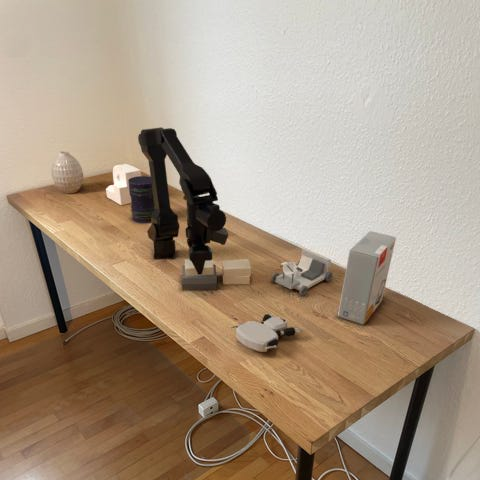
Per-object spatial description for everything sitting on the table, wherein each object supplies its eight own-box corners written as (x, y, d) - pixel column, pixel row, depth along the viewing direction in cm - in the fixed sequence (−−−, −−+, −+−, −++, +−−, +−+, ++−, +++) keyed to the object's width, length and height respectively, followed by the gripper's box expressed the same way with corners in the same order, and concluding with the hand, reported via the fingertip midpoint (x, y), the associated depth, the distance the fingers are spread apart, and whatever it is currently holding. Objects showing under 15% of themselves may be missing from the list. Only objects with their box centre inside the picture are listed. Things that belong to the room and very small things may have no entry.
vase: (50, 190, 210) (42, 151, 201) (77, 184, 218) (70, 146, 209) (63, 198, 203) (55, 157, 194) (91, 191, 210) (85, 152, 201)
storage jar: (161, 215, 189) (158, 177, 181) (153, 224, 181) (150, 185, 173) (137, 212, 190) (133, 175, 182) (128, 222, 182) (123, 183, 174)
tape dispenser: (143, 199, 203) (140, 169, 196) (121, 205, 197) (117, 174, 190) (124, 190, 213) (121, 161, 206) (103, 194, 207) (98, 165, 200)
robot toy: (266, 321, 129) (226, 340, 119) (268, 306, 126) (227, 325, 117) (302, 341, 122) (262, 363, 112) (304, 325, 119) (264, 347, 110)
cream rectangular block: (186, 276, 139) (185, 268, 137) (184, 267, 144) (184, 259, 142) (213, 275, 140) (213, 267, 138) (211, 265, 145) (211, 257, 143)
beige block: (222, 284, 143) (222, 269, 140) (222, 274, 149) (222, 259, 146) (250, 284, 144) (251, 269, 141) (249, 274, 149) (249, 259, 146)
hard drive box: (364, 326, 126) (377, 257, 115) (336, 317, 130) (347, 250, 119) (382, 300, 137) (396, 236, 126) (357, 293, 141) (368, 229, 130)
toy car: (298, 270, 131) (266, 256, 138) (295, 300, 136) (264, 286, 143) (336, 250, 142) (304, 238, 148) (331, 279, 147) (302, 267, 154)
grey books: (182, 290, 140) (181, 278, 138) (183, 276, 147) (182, 264, 145) (216, 290, 141) (216, 278, 138) (216, 276, 148) (216, 264, 146)
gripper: (231, 231, 126) (230, 283, 135) (222, 206, 142) (222, 254, 150) (188, 233, 125) (190, 285, 133) (184, 207, 140) (186, 255, 149)
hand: (199, 269), depth 141 cm, fingers closed on cream rectangular block, 6 cm apart
